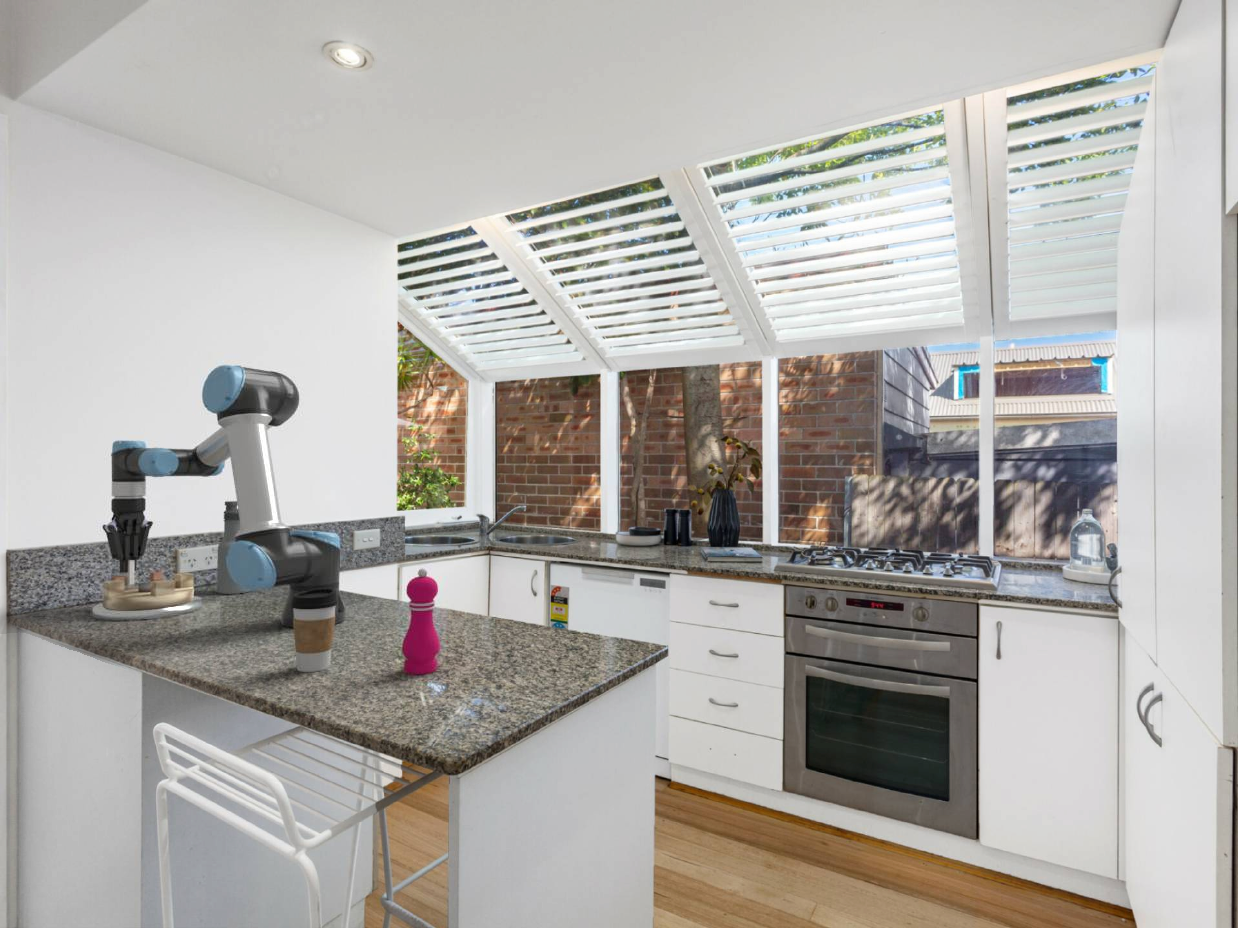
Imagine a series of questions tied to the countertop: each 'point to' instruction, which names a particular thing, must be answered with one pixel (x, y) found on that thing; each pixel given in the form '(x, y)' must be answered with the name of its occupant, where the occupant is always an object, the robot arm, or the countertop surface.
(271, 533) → the robot arm
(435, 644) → the pepper mill
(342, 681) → the countertop surface
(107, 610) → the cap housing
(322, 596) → the coffee cup
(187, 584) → the ring nut
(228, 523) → the water bottle
